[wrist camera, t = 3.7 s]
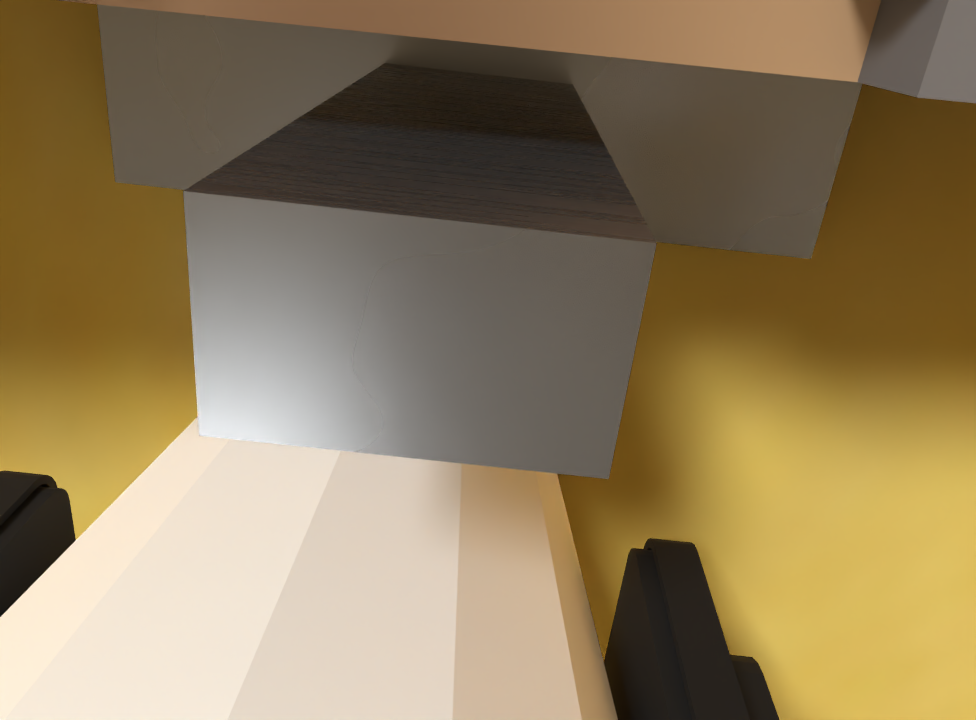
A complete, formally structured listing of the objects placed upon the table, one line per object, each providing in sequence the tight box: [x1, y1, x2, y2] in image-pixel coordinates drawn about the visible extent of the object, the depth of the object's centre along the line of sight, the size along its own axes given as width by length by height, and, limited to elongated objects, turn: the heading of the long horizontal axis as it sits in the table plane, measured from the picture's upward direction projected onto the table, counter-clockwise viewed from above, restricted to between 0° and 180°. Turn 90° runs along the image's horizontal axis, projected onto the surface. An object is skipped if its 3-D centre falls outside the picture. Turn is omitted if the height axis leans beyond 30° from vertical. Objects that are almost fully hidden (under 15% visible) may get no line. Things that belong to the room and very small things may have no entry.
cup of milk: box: [0, 417, 618, 720], centre depth 9 cm, size 7×7×7 cm
